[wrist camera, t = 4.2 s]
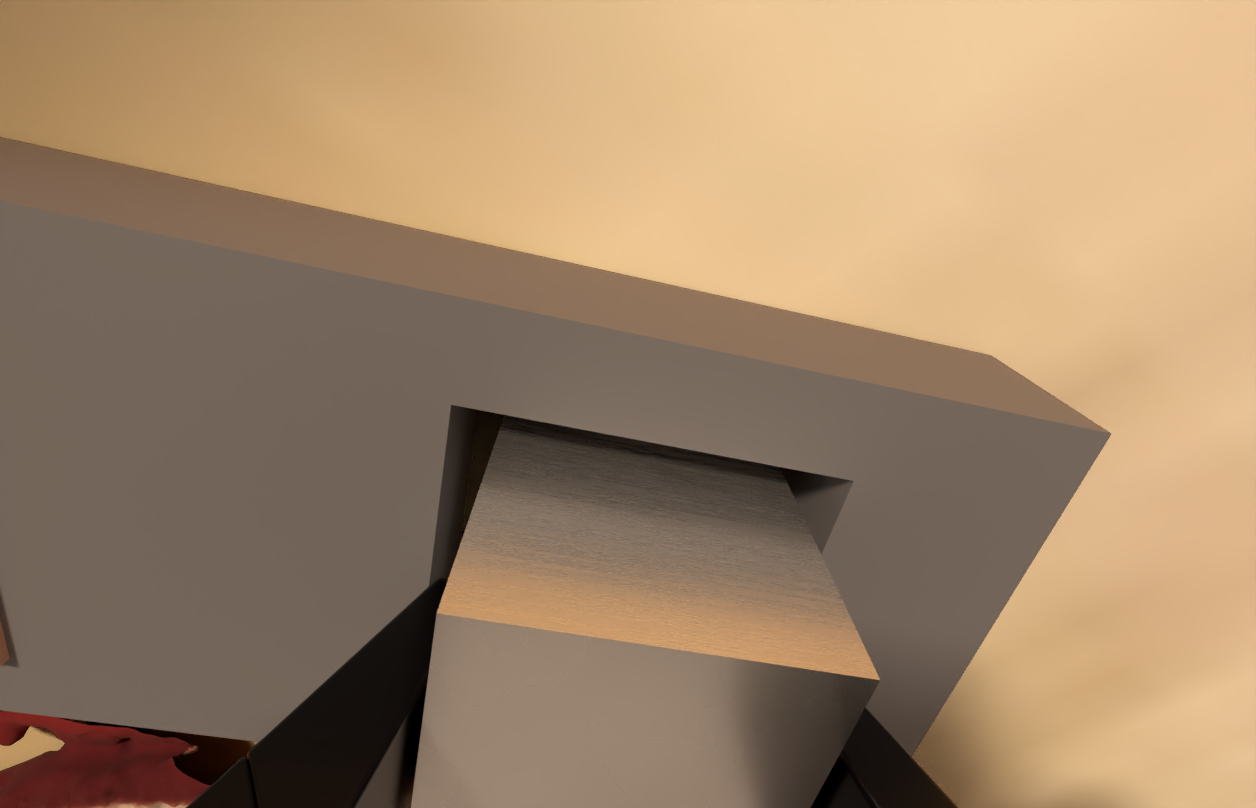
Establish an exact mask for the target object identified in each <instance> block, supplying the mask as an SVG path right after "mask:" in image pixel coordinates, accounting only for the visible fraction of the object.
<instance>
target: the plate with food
mask: <svg viewBox="0 0 1256 808" xmlns="http://www.w3.org/2000/svg"><path fill="white" fill-rule="evenodd" d="M30 726H33V727H40V728H45V729H48V730H49V731H51V732H52V733H53V734H54V735H55V736H56V737H57V738H58V739H60V740H62V741H63V742H64V743H65V744H64V745H63V747H62V748H61V749H60V750H58V751H49V752H45V753H43V754H41V755H39V756H37V757H35V758H32V759H30V760H28V761H25V762H23V763H20V764H17V765H15V766H12V767H10V768H7V769H4V770H2V771H0V808H186V807H187V806H188V805H189V804H190V803H192V802H193V801H194V800H195V799H196V798H197V797H198V796H200V795H201V794H202V793H203V792H204V791H205V790H206V789H208V788H209V787H210V786H211V785H206V784H203V783H201V782H199V781H197V780H195V779H193V778H191V777H189V776H187V775H186V774H184V773H182V772H181V771H180V770H179V769H177V768H176V766H175V763H174V760H173V758H174V757H184V756H187V755H191V754H193V753H194V752H196V751H197V750H198V747H197V746H196V745H192V744H190V743H187V742H185V741H183V740H180V739H178V738H174V737H168V738H162V737H158V736H154V735H149V734H143V733H141V732H145V731H149V730H153V729H149V728H140V727H132V726H124V725H116V724H108V723H100V722H92V721H83V720H75V719H67V718H59V717H51V716H43V715H35V714H26V713H18V712H10V711H2V710H0V745H3V746H10V745H12V744H14V743H15V742H17V741H18V740H20V739H21V738H22V737H24V735H25V733H26V731H27V730H28V728H29V727H30ZM163 731H164V732H169V731H165V730H163ZM411 803H412V802H411ZM409 808H411V804H410V807H409Z"/></svg>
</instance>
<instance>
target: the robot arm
mask: <svg viewBox="0 0 1256 808" xmlns="http://www.w3.org/2000/svg"><path fill="white" fill-rule="evenodd" d="M447 581H448V578H438V579H436V580H435V581H434V582H433V583H432V584H431V585H430V586H429V587H428V588H426V589H425V590H424V591H423V592H422V593H421V594H420V595H419V596H418V597H417V598H416V599H414V600H413V601H412V602H411V603H410V604H409V605H408V606H407V607H406V608H405V609H404V610H402V611H401V612H400V613H399V614H398V615H397V616H396V617H395V618H394V619H393V620H391V621H390V622H389V623H388V624H387V625H386V626H385V627H384V628H383V629H382V630H381V631H379V632H378V633H377V634H376V635H375V636H374V637H373V638H372V639H371V640H370V641H369V642H367V643H366V644H365V645H364V646H363V647H362V648H361V649H360V650H359V651H358V652H357V653H355V654H354V655H353V656H352V657H351V658H350V659H349V660H348V661H347V662H346V663H345V664H343V665H342V666H341V667H340V668H339V669H338V670H337V671H336V672H335V673H334V674H333V675H331V676H330V677H329V678H328V679H327V680H326V681H325V682H324V683H323V684H322V685H321V686H319V687H318V688H317V689H316V690H315V691H314V692H313V693H312V694H311V695H310V696H309V697H307V698H306V699H305V700H304V701H303V702H302V703H301V704H300V705H299V706H298V707H297V708H295V709H294V710H293V711H292V712H291V713H290V714H289V715H288V716H287V717H286V718H285V719H283V720H282V721H281V722H280V723H279V724H278V725H277V726H276V727H275V728H274V729H273V730H271V731H270V732H269V733H268V734H267V735H266V736H265V737H264V738H263V739H262V740H261V741H259V742H258V743H257V744H256V745H255V746H254V747H253V748H252V749H251V750H250V751H249V752H248V753H247V758H245V757H243V758H240V759H239V760H238V761H237V762H236V763H235V764H234V765H233V766H232V767H231V768H230V769H228V770H227V771H226V772H225V773H224V774H223V775H222V776H221V777H220V778H219V779H218V780H217V781H215V782H214V783H213V784H212V785H211V786H210V787H209V788H208V789H206V790H205V791H204V792H203V793H202V794H201V795H200V796H198V797H197V798H196V799H195V800H194V801H193V802H192V803H190V804H189V805H188V806H187V807H186V808H409V807H410V804H411V801H412V795H413V788H414V780H415V773H416V765H417V758H418V750H419V742H420V735H421V727H422V720H423V712H424V704H425V697H426V689H427V682H428V674H429V667H430V659H431V651H432V644H433V636H434V629H435V621H436V614H437V610H438V608H439V605H440V602H441V599H442V596H443V593H444V590H445V587H446V584H447ZM811 808H958V807H957V806H956V805H955V804H954V802H953V801H952V800H951V799H950V798H949V797H948V796H947V795H946V794H945V793H944V792H943V791H942V789H941V788H940V787H939V786H938V785H937V784H936V783H935V782H934V781H933V780H932V779H931V778H930V776H929V775H928V774H927V773H926V772H925V771H924V770H923V769H922V768H921V767H920V766H919V765H918V763H917V762H916V761H915V760H914V759H913V758H912V757H911V756H910V755H909V754H908V753H907V751H906V750H905V749H904V748H903V747H902V746H901V745H900V744H899V743H898V742H897V741H896V740H895V738H894V737H893V736H892V735H891V734H890V733H889V732H888V731H887V730H886V729H885V728H884V727H883V725H882V724H881V723H880V722H879V721H878V720H877V719H876V718H875V717H874V716H873V715H872V713H871V712H870V711H869V710H868V709H867V708H866V707H865V709H864V711H863V713H862V715H861V716H860V718H859V720H858V722H857V724H856V726H855V727H854V729H853V731H852V733H851V735H850V737H849V738H848V740H847V742H846V744H845V746H844V747H843V749H842V751H841V753H840V755H839V757H838V758H837V760H836V762H835V764H834V766H833V768H832V769H831V771H830V773H829V775H828V777H827V779H826V780H825V782H824V784H823V786H822V788H821V790H820V791H819V793H818V795H817V797H816V799H815V800H814V802H813V804H812V806H811Z"/></svg>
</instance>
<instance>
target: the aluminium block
mask: <svg viewBox="0 0 1256 808" xmlns="http://www.w3.org/2000/svg"><path fill="white" fill-rule="evenodd" d="M879 682H880V678H879V676H878V674H877V672H876V670H875V668H874V666H873V664H872V661H871V659H870V657H869V655H868V653H867V651H866V649H865V647H864V644H863V642H862V640H861V638H860V636H859V634H858V632H857V630H856V628H855V625H854V623H853V621H852V619H851V617H850V615H849V613H848V611H847V608H846V606H845V604H844V602H843V600H842V598H841V596H840V594H839V592H838V589H837V587H836V585H835V583H834V581H833V579H832V577H831V575H830V572H829V570H828V568H827V566H826V564H825V562H824V560H823V558H822V555H821V553H820V551H819V549H818V547H817V545H816V543H815V541H814V539H813V536H812V534H811V532H810V530H809V528H808V526H807V524H806V522H805V519H804V517H803V515H802V513H801V511H800V509H799V507H798V505H797V503H796V500H795V498H794V496H793V494H792V492H791V490H790V488H789V486H788V483H787V481H786V479H785V477H784V475H783V473H782V471H781V469H780V467H777V466H772V465H767V464H762V463H756V462H751V461H746V460H740V459H735V458H730V457H725V456H719V455H714V454H709V453H703V452H698V451H693V450H688V449H682V448H677V447H672V446H667V445H661V444H656V443H651V442H645V441H640V440H635V439H630V438H624V437H619V436H614V435H608V434H603V433H598V432H593V431H587V430H582V429H577V428H571V427H566V426H561V425H556V424H550V423H545V422H540V421H535V420H529V419H524V418H519V417H513V416H508V415H504V418H503V421H502V424H501V427H500V430H499V433H498V436H497V439H496V442H495V444H494V447H493V450H492V453H491V456H490V459H489V462H488V465H487V468H486V471H485V474H484V476H483V479H482V482H481V485H480V488H479V491H478V494H477V497H476V500H475V503H474V506H473V509H472V511H471V514H470V517H469V520H468V523H467V526H466V529H465V532H464V535H463V538H462V541H461V543H460V546H459V549H458V552H457V555H456V558H455V561H454V564H453V567H452V570H451V573H450V575H449V578H448V581H447V584H446V587H445V590H444V593H443V596H442V599H441V602H440V605H439V608H438V610H437V614H436V621H435V629H434V636H433V644H432V651H431V659H430V667H429V674H428V682H427V689H426V697H425V704H424V712H423V720H422V727H421V735H420V742H419V750H418V758H417V765H416V773H415V780H414V788H413V795H412V803H411V808H811V806H812V804H813V802H814V800H815V799H816V797H817V795H818V793H819V791H820V790H821V788H822V786H823V784H824V782H825V780H826V779H827V777H828V775H829V773H830V771H831V769H832V768H833V766H834V764H835V762H836V760H837V758H838V757H839V755H840V753H841V751H842V749H843V747H844V746H845V744H846V742H847V740H848V738H849V737H850V735H851V733H852V731H853V729H854V727H855V726H856V724H857V722H858V720H859V718H860V716H861V715H862V713H863V711H864V709H865V707H866V705H867V704H868V702H869V700H870V698H871V696H872V695H873V693H874V691H875V689H876V687H877V685H878V684H879Z"/></svg>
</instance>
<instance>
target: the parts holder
mask: <svg viewBox="0 0 1256 808" xmlns="http://www.w3.org/2000/svg"><path fill="white" fill-rule="evenodd" d="M479 410H482V411H487V412H492V413H498V414H503V415H508V416H513V417H519V418H524V419H529V420H535V421H540V422H545V423H550V424H556V425H561V426H566V427H571V428H577V429H582V430H587V431H593V432H598V433H603V434H608V435H614V436H619V437H624V438H630V439H635V440H640V441H645V442H651V443H656V444H661V445H667V446H672V447H677V448H682V449H688V450H693V451H698V452H703V453H709V454H714V455H719V456H725V457H730V458H735V459H740V460H746V461H751V462H756V463H762V464H767V465H772V466H777V467H780V469H781V471H782V473H783V475H784V477H785V479H786V481H787V483H788V486H789V488H790V490H791V492H792V494H793V496H794V498H795V500H796V503H797V505H798V507H799V509H800V511H801V513H802V515H803V517H804V519H805V522H806V524H807V526H808V528H809V530H810V532H811V534H812V536H813V539H814V541H815V543H816V545H817V547H818V549H819V551H820V553H821V555H822V558H823V560H824V562H825V564H826V566H827V568H828V570H829V572H830V575H831V577H832V579H833V581H834V583H835V585H836V587H837V589H838V592H839V594H840V596H841V598H842V600H843V602H844V604H845V606H846V608H847V611H848V613H849V615H850V617H851V619H852V621H853V623H854V625H855V628H856V630H857V632H858V634H859V636H860V638H861V640H862V642H863V644H864V647H865V649H866V651H867V653H868V655H869V657H870V659H871V661H872V664H873V666H874V668H875V670H876V672H877V674H878V676H879V678H880V682H879V684H878V685H877V687H876V689H875V691H874V693H873V695H872V696H871V698H870V700H869V702H868V704H867V705H866V708H867V709H868V710H869V711H870V712H871V713H872V715H873V716H874V717H875V718H876V719H877V720H878V721H879V722H880V723H881V724H882V725H883V727H884V728H885V729H886V730H887V731H888V732H889V733H890V734H891V735H892V736H893V737H894V738H895V740H896V741H897V742H898V743H899V744H900V745H901V746H902V747H903V748H904V749H905V750H906V751H907V753H908V754H909V755H910V756H911V757H912V755H913V754H914V752H915V750H916V749H917V747H918V746H919V744H920V742H921V741H922V739H923V737H924V736H925V734H926V733H927V731H928V729H929V728H930V726H931V725H932V723H933V721H934V720H935V718H936V716H937V715H938V713H939V712H940V710H941V708H942V707H943V705H944V704H945V702H946V700H947V699H948V697H949V695H950V694H951V692H952V691H953V689H954V687H955V686H956V684H957V683H958V681H959V679H960V678H961V676H962V674H963V673H964V671H965V670H966V668H967V666H968V665H969V663H970V662H971V660H972V658H973V657H974V655H975V653H976V652H977V650H978V649H979V647H980V645H981V644H982V642H983V641H984V639H985V637H986V636H987V634H988V632H989V631H990V629H991V628H992V626H993V624H994V623H995V621H996V620H997V618H998V616H999V615H1000V613H1001V611H1002V610H1003V608H1004V607H1005V605H1006V603H1007V602H1008V600H1009V599H1010V597H1011V595H1012V594H1013V592H1014V590H1015V589H1016V587H1017V586H1018V584H1019V582H1020V581H1021V579H1022V578H1023V576H1024V574H1025V573H1026V571H1027V569H1028V568H1029V566H1030V565H1031V563H1032V561H1033V560H1034V558H1035V557H1036V555H1037V553H1038V552H1039V550H1040V548H1041V547H1042V545H1043V544H1044V542H1045V540H1046V539H1047V537H1048V536H1049V534H1050V532H1051V531H1052V529H1053V527H1054V526H1055V524H1056V523H1057V521H1058V519H1059V518H1060V516H1061V515H1062V513H1063V511H1064V510H1065V508H1066V506H1067V505H1068V503H1069V502H1070V500H1071V498H1072V497H1073V495H1074V494H1075V492H1076V490H1077V489H1078V487H1079V485H1080V484H1081V482H1082V481H1083V479H1084V477H1085V476H1086V474H1087V473H1088V471H1089V469H1090V468H1091V466H1092V464H1093V463H1094V461H1095V460H1096V458H1097V456H1098V455H1099V453H1100V452H1101V450H1102V448H1103V447H1104V445H1105V443H1106V442H1107V440H1108V439H1109V437H1110V435H1111V433H1110V432H1108V431H1107V430H1105V429H1104V428H1102V427H1100V426H1099V425H1097V424H1096V423H1094V422H1093V421H1091V420H1090V419H1088V418H1087V417H1085V416H1084V415H1082V414H1080V413H1079V412H1077V411H1076V410H1074V409H1073V408H1071V407H1070V406H1068V405H1067V404H1065V403H1064V402H1062V401H1060V400H1059V399H1057V398H1056V397H1054V396H1053V395H1051V394H1050V393H1048V392H1047V391H1045V390H1044V389H1042V388H1040V387H1039V386H1037V385H1036V384H1034V383H1033V382H1031V381H1030V380H1028V379H1027V378H1025V377H1024V376H1022V375H1020V374H1019V373H1017V372H1016V371H1014V370H1013V369H1011V368H1010V367H1008V366H1007V365H1005V364H1004V363H1002V362H1001V361H999V360H997V359H996V358H994V357H993V356H991V355H986V354H982V353H977V352H973V351H968V350H964V349H959V348H955V347H950V346H945V345H941V344H936V343H932V342H927V341H923V340H918V339H914V338H909V337H905V336H900V335H896V334H891V333H886V332H882V331H877V330H873V329H868V328H864V327H859V326H855V325H850V324H846V323H841V322H837V321H832V320H827V319H823V318H818V317H814V316H809V315H805V314H800V313H796V312H791V311H787V310H782V309H778V308H773V307H768V306H764V305H759V304H755V303H750V302H746V301H741V300H737V299H732V298H728V297H723V296H719V295H714V294H709V293H705V292H700V291H696V290H691V289H687V288H682V287H678V286H673V285H669V284H664V283H660V282H655V281H650V280H646V279H641V278H637V277H632V276H628V275H623V274H619V273H614V272H610V271H605V270H601V269H596V268H591V267H587V266H582V265H578V264H573V263H569V262H564V261H560V260H555V259H551V258H546V257H542V256H537V255H532V254H528V253H523V252H519V251H514V250H510V249H505V248H501V247H496V246H492V245H487V244H483V243H478V242H473V241H469V240H464V239H460V238H455V237H451V236H446V235H442V234H437V233H433V232H428V231H424V230H419V229H415V228H410V227H405V226H401V225H396V224H392V223H387V222H383V221H378V220H374V219H369V218H365V217H360V216H356V215H351V214H346V213H342V212H337V211H333V210H328V209H324V208H319V207H315V206H310V205H306V204H301V203H297V202H292V201H287V200H283V199H278V198H274V197H269V196H265V195H260V194H256V193H251V192H247V191H242V190H238V189H233V188H228V187H224V186H219V185H215V184H210V183H206V182H201V181H197V180H192V179H188V178H183V177H179V176H174V175H169V174H165V173H160V172H156V171H151V170H147V169H142V168H138V167H133V166H129V165H124V164H120V163H115V162H110V161H106V160H101V159H97V158H92V157H88V156H83V155H79V154H74V153H70V152H65V151H61V150H56V149H51V148H47V147H42V146H38V145H33V144H29V143H24V142H20V141H15V140H11V139H6V138H2V137H0V710H2V711H10V712H18V713H26V714H35V715H43V716H51V717H59V718H67V719H75V720H83V721H92V722H100V723H108V724H116V725H124V726H132V727H140V728H149V729H157V730H165V731H173V732H181V733H189V734H197V735H206V736H214V737H222V738H230V739H238V740H246V741H254V742H259V741H261V740H262V739H263V738H264V737H265V736H266V735H267V734H268V733H269V732H270V731H271V730H273V729H274V728H275V727H276V726H277V725H278V724H279V723H280V722H281V721H282V720H283V719H285V718H286V717H287V716H288V715H289V714H290V713H291V712H292V711H293V710H294V709H295V708H297V707H298V706H299V705H300V704H301V703H302V702H303V701H304V700H305V699H306V698H307V697H309V696H310V695H311V694H312V693H313V692H314V691H315V690H316V689H317V688H318V687H319V686H321V685H322V684H323V683H324V682H325V681H326V680H327V679H328V678H329V677H330V676H331V675H333V674H334V673H335V672H336V671H337V670H338V669H339V668H340V667H341V666H342V665H343V664H345V663H346V662H347V661H348V660H349V659H350V658H351V657H352V656H353V655H354V654H355V653H357V652H358V651H359V650H360V649H361V648H362V647H363V646H364V645H365V644H366V643H367V642H369V641H370V640H371V639H372V638H373V637H374V636H375V635H376V634H377V633H378V632H379V631H381V630H382V629H383V628H384V627H385V626H386V625H387V624H388V623H389V622H390V621H391V620H393V619H394V618H395V617H396V616H397V615H398V614H399V613H400V612H401V611H402V610H404V609H405V608H406V607H407V606H408V605H409V604H410V603H411V602H412V601H413V600H414V599H416V598H417V597H418V596H419V595H420V594H421V593H422V592H423V591H424V590H425V589H426V588H428V587H429V586H430V585H431V584H432V583H433V582H434V581H435V580H436V579H438V578H449V575H450V573H451V570H452V567H453V564H454V561H455V558H456V555H457V552H458V549H459V546H460V541H461V534H462V527H463V520H464V514H465V507H466V500H467V493H468V486H469V479H470V472H471V465H472V458H473V451H474V444H475V437H476V430H477V423H478V416H479Z"/></svg>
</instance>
